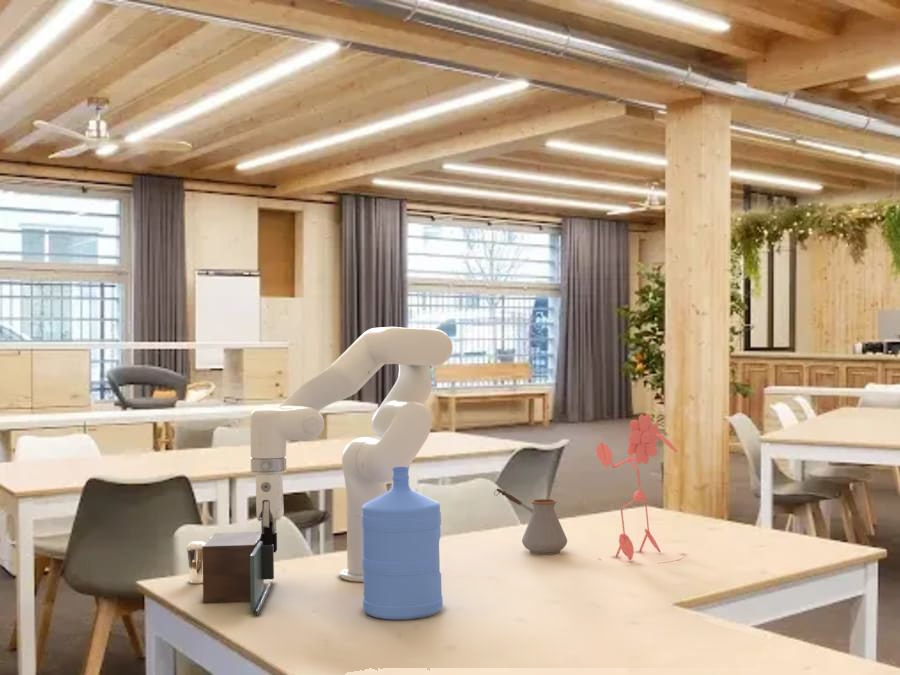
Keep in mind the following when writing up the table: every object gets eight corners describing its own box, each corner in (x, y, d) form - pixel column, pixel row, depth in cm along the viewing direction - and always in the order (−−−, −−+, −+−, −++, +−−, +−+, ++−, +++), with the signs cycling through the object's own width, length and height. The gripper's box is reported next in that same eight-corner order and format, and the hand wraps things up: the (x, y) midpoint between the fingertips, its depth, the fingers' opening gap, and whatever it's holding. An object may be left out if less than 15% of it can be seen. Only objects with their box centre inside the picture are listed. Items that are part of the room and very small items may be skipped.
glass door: (275, 591, 209) (274, 540, 210) (267, 610, 194) (266, 555, 194) (260, 592, 209) (259, 541, 209) (250, 611, 194) (250, 555, 194)
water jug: (413, 625, 183) (411, 474, 184) (346, 614, 192) (344, 470, 192) (457, 606, 197) (455, 465, 197) (393, 597, 205) (391, 462, 206)
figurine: (590, 561, 237) (587, 416, 238) (657, 547, 254) (653, 410, 255) (641, 571, 225) (637, 418, 226) (707, 555, 242) (704, 412, 243)
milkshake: (206, 584, 220) (205, 539, 220) (183, 584, 221) (183, 539, 221) (214, 580, 224) (214, 536, 225) (193, 579, 225) (192, 535, 226)
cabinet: (272, 583, 220) (271, 531, 220) (257, 616, 192) (256, 556, 192) (215, 585, 219) (214, 533, 219) (192, 618, 191) (191, 558, 191)
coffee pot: (576, 550, 251) (575, 491, 251) (550, 558, 242) (548, 496, 243) (510, 541, 265) (509, 485, 265) (482, 548, 256) (481, 490, 257)
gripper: (282, 469, 205) (283, 558, 204) (289, 462, 220) (290, 545, 219) (245, 470, 204) (246, 559, 204) (255, 462, 219) (256, 546, 219)
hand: (269, 551), depth 211 cm, fingers closed
